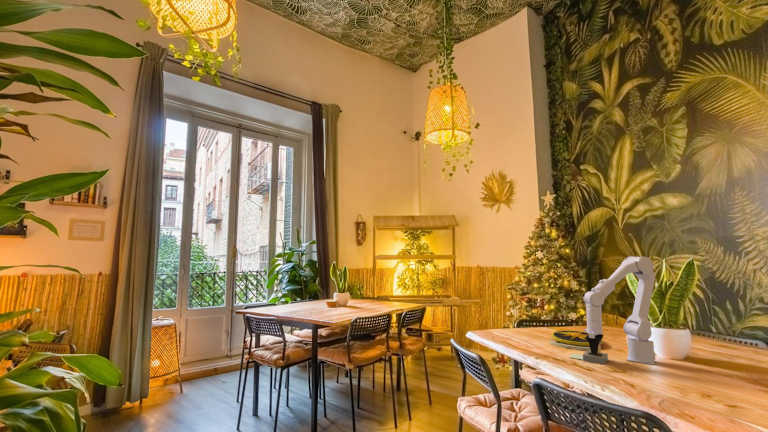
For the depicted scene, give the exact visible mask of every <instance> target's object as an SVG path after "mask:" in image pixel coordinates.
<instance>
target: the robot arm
mask: <svg viewBox="0 0 768 432" xmlns="http://www.w3.org/2000/svg"><path fill="white" fill-rule="evenodd" d="M654 267H655V263H654V262H653V260H651V258H649V257H648V256H633V255H630V256H627V257H626V258H625V259H624V260H622V261H621V264H620V265H619V266H618V268H616V270H615V271H614V272H613V273H612V274H611V275H610V276H609V278H607V279H606V278H603V279H600V280H598V283H597V284H596V285H595V287H592V288H591V290H590V291H587V292H586V293H584V296H583V297H582V299H583V302H584V303H585V307H586V308H585V309H586V328H585V329H584V328H583V332H588V333H589V336H586V339H587V341H588V343H589V346H588V347H590V350H591V353H592V354H597V353H598V347H599V342H600V341H601V340H602V338H603V339H604V334H603V333H604V331H603V314H602V312H603V311H602V306H603V305H604V303H605V299H606V298H607V297H608V296H610V294H611V293H612V292H613V291H614V290H615V289H616V284H617V283H619V282H620V281H621V280H623V278H625V277H626V276H627V275H628V274H632V273H633V274H634V275H635V276H636V277H637V278H638V284H637V287H636V288H637V289H636V294H635V297H634V299H635V300H634V303H633V309H632V314H631V315H630V316H628V317H627V319H626V322H625V323H624V324H623V331H624V333H625V334H626V337H627V351H628V353H627V357H626V361H629V362H636V363H642V364H649V365H654V364H655V360H656V355H655V344H654V341H653V340H650V338H651V337H652V335H653V334H652V333H653V332H652V328H651V327H652V323H651V321H650V320H649V319H648V317H649V316H648V315H649V311H650V307H651V300H652V297H653V296H652V295H653V291H654V286H655V281H656V276H655V271H654Z"/></svg>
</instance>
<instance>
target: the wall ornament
mask: <svg viewBox="0 0 768 432" xmlns="http://www.w3.org/2000/svg"><path fill="white" fill-rule="evenodd" d="M586 336H589V333H588V332H586V331H580V330H569V329H568V330H567V329H565V330H556V331H553V332H552V333H551V338H552V339H553V340H555V341H553V340H551V339H550V340H549V343H550V344H551V345H552V346H554V347H559V348H562V349H563V348H564V349H569V350H574V349H576V351H583V350H584V351H585V352H586V351H590V346H589V343H588V341H587V339H586ZM603 343H604V337H603V338H602V340H601V344H600V345H602V344H603Z"/></svg>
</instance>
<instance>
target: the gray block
mask: <svg viewBox="0 0 768 432" xmlns="http://www.w3.org/2000/svg"><path fill="white" fill-rule="evenodd" d="M582 355H583V360H582V362H586V361H588V362H587V363H592V362H593V364H598V363H600V364H599V365H604V364H605V365H606V363H607V362H608V361H609V360H608V359H609V357H608V356H609V355H608V353H606V352H601V357H600V356H594V355H590V351H585V352H584V353H583V354H582Z"/></svg>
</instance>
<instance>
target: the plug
mask: <svg viewBox="0 0 768 432" xmlns="http://www.w3.org/2000/svg"><path fill="white" fill-rule="evenodd" d="M601 345H602V344H601V341H600V342H599V347H598V353H597V354H592V353H591V350H590V355H594V356H600V357H601V353H602V352H601V351H602V350H601Z"/></svg>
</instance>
